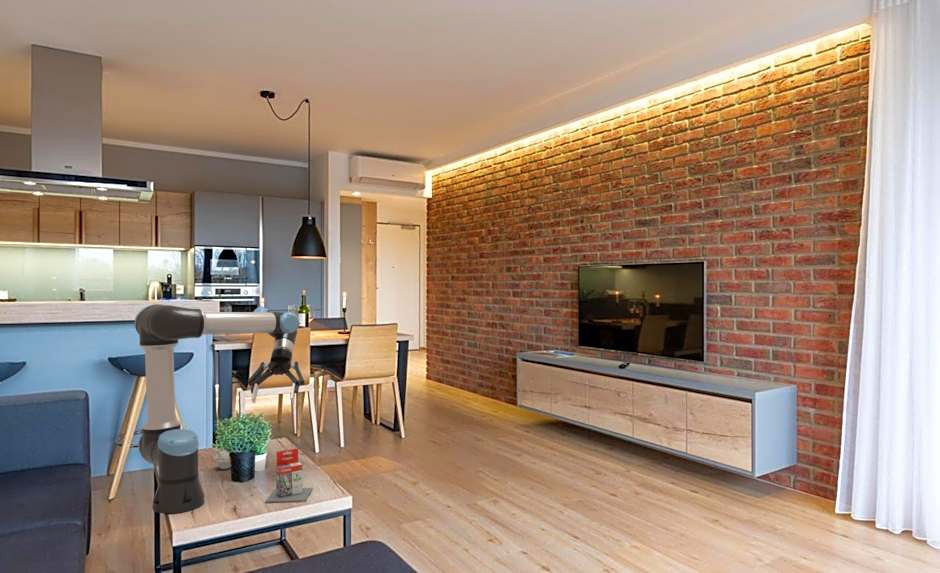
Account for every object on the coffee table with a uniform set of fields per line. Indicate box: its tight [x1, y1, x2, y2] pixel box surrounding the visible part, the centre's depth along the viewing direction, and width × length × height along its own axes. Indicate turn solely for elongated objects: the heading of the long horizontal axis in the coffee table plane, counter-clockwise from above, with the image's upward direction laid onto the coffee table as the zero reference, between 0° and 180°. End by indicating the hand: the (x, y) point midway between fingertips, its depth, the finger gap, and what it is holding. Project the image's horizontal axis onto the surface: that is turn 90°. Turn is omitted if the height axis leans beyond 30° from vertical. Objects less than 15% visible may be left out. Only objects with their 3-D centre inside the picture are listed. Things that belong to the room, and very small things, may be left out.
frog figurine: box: [214, 450, 231, 470], centre depth 234 cm, size 6×7×7 cm
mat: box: [264, 487, 314, 504], centre depth 203 cm, size 13×12×1 cm
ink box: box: [275, 448, 304, 498], centre depth 204 cm, size 4×8×15 cm, turn 126°
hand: (272, 400), depth 217 cm, fingers open, 13 cm apart
